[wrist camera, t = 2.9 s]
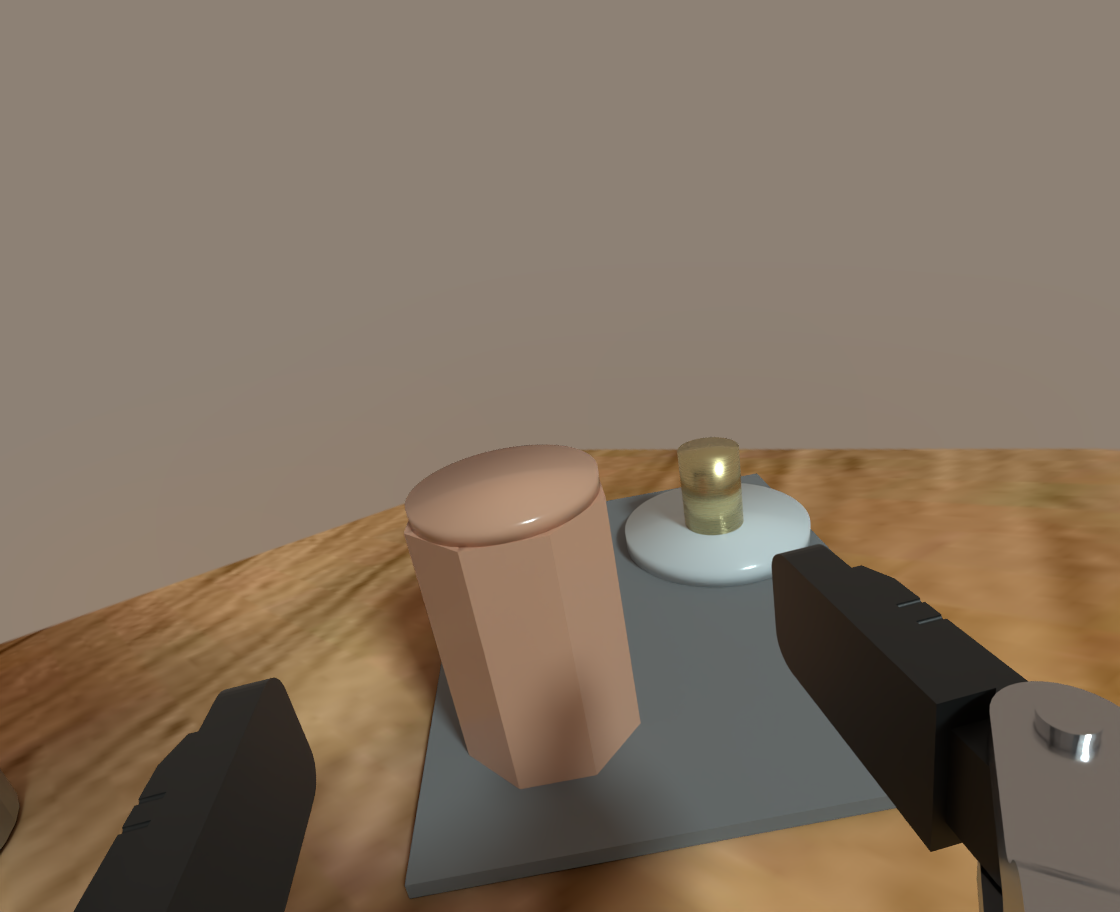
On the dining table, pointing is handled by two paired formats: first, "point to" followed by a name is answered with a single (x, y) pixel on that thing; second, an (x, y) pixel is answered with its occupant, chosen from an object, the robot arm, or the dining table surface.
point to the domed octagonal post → (526, 610)
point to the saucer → (716, 539)
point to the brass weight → (711, 485)
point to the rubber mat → (651, 749)
